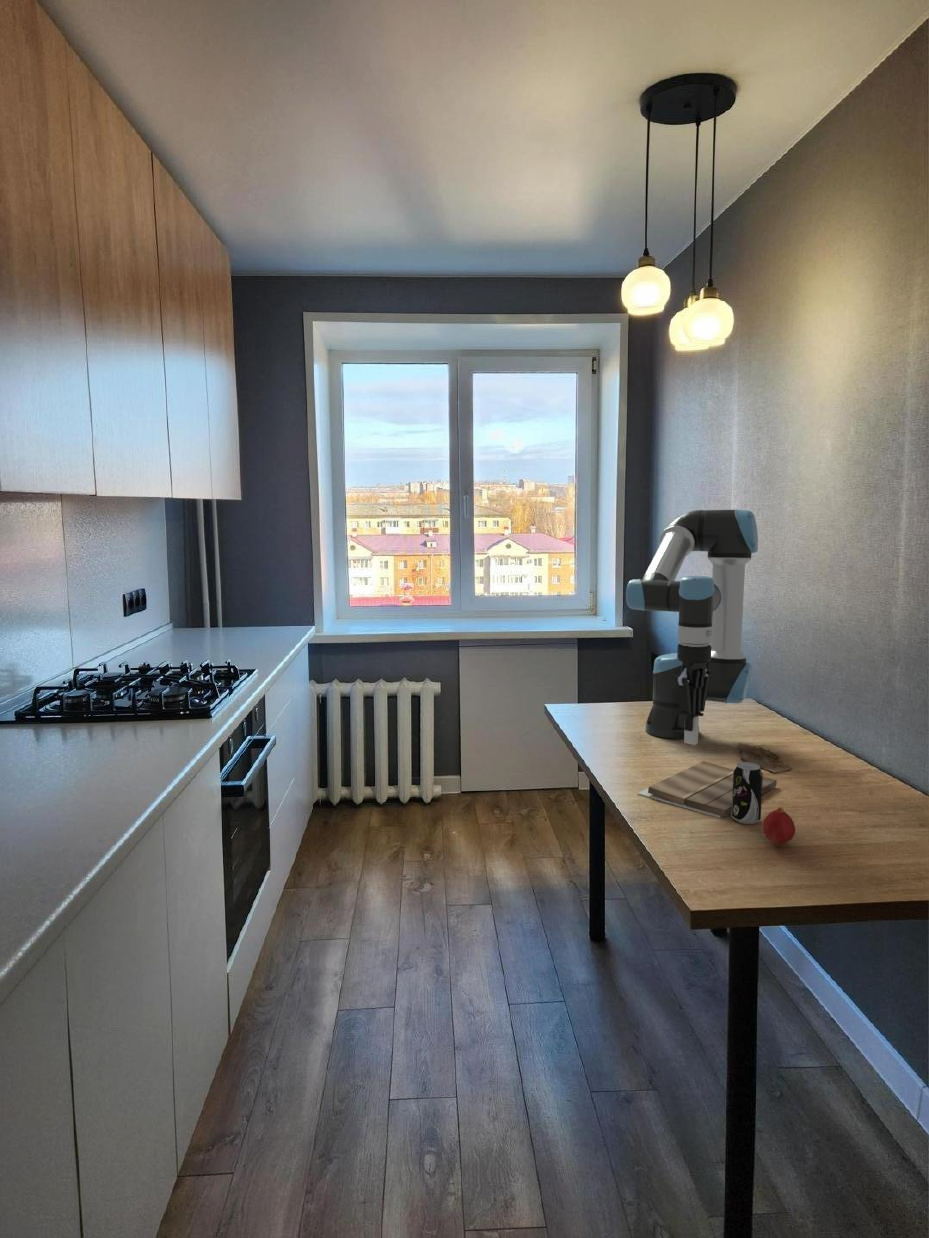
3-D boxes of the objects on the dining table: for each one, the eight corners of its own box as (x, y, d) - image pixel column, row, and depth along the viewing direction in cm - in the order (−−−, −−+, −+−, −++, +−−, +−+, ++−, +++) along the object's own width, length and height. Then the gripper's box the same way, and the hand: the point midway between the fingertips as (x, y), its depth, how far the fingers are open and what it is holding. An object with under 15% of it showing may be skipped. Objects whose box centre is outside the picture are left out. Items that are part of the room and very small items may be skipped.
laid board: (739, 777, 187) (739, 770, 186) (776, 786, 180) (776, 779, 180) (685, 805, 168) (685, 798, 168) (724, 816, 162) (725, 809, 162)
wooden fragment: (798, 775, 190) (798, 771, 190) (752, 774, 190) (753, 770, 190) (764, 745, 215) (764, 741, 215) (724, 744, 216) (724, 740, 216)
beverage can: (725, 818, 162) (727, 763, 160) (744, 813, 165) (746, 759, 163) (747, 827, 157) (750, 771, 156) (766, 822, 160) (769, 766, 158)
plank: (703, 766, 193) (704, 760, 193) (737, 776, 187) (738, 770, 187) (648, 792, 175) (648, 786, 175) (684, 805, 169) (684, 798, 168)
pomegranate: (756, 840, 151) (758, 801, 150) (784, 839, 151) (786, 800, 150) (770, 853, 145) (772, 812, 144) (799, 852, 146) (802, 811, 145)
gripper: (695, 649, 170) (691, 752, 173) (723, 642, 179) (719, 740, 182) (665, 645, 175) (662, 745, 178) (693, 638, 184) (690, 734, 188)
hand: (690, 743), depth 180 cm, fingers closed
